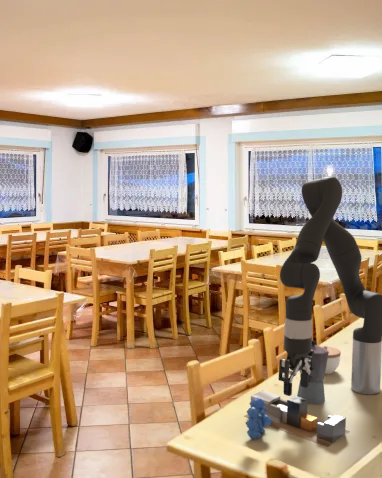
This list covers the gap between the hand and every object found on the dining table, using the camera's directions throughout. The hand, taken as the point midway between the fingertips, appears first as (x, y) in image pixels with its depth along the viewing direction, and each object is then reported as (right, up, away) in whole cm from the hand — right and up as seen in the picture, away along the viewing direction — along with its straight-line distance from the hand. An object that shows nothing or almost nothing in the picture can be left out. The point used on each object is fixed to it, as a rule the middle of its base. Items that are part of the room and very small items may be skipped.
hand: (296, 390), depth 152 cm
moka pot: (+8, -9, +18) cm, 22 cm away
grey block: (-2, -9, +3) cm, 10 cm away
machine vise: (0, -11, +1) cm, 11 cm away
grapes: (-11, -12, -6) cm, 17 cm away
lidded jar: (+20, -6, +48) cm, 52 cm away
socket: (+8, -10, -6) cm, 15 cm away
